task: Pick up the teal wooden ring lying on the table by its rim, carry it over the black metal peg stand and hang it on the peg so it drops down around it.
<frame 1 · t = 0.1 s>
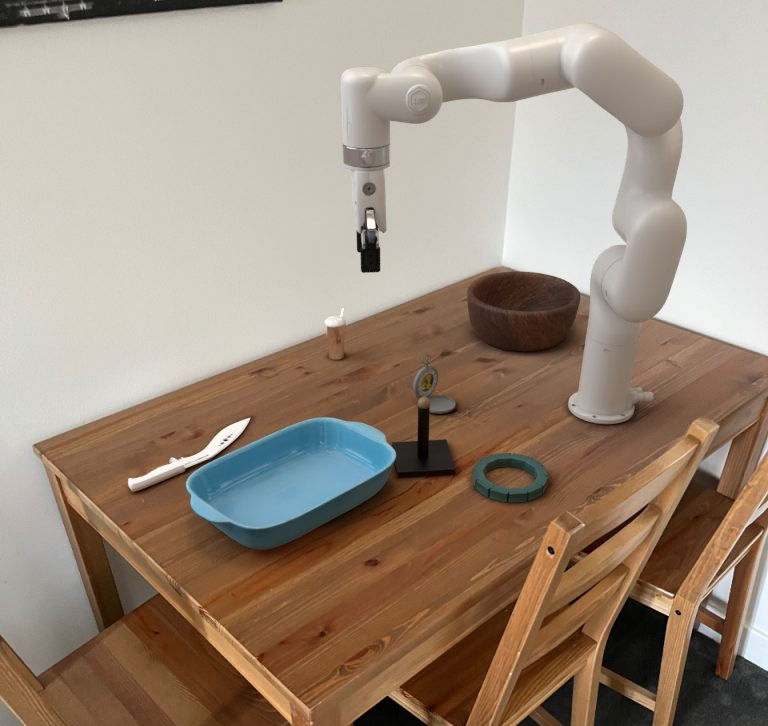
hand: (368, 261, 145), 31 cm above the table, tool pointing down, fingers open, 9 cm apart
milkshake: (337, 356, 186), on the table
casserole dish: (296, 502, 142), on the table
wooden bowl: (519, 334, 195), on the table
pocket watch: (434, 405, 168), on the table
ring: (509, 481, 146), on the table
stand: (422, 460, 152), on the table
knife: (196, 454, 154), on the table
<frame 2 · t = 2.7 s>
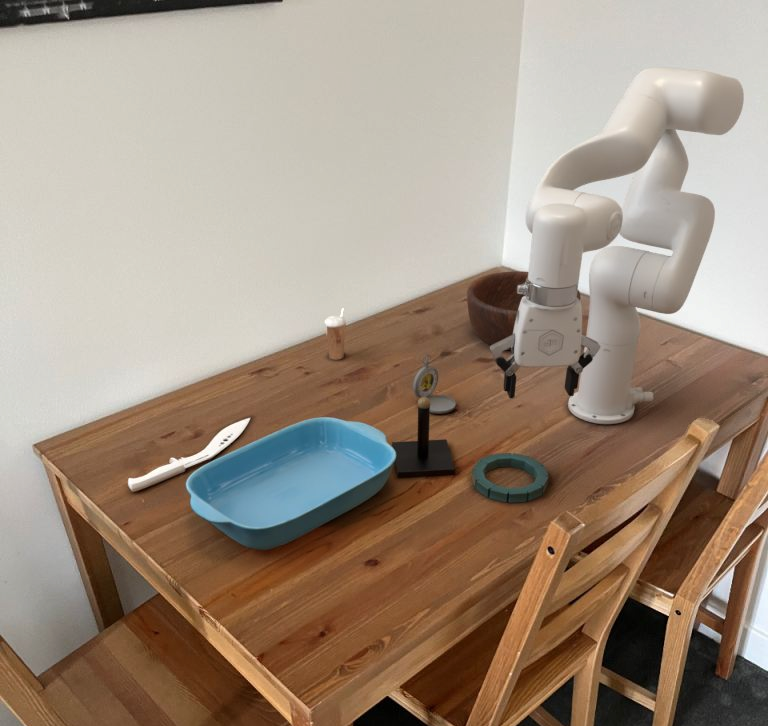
hand: (539, 393, 138), 16 cm above the table, tool pointing down, fingers open, 9 cm apart
nothing on the table moved.
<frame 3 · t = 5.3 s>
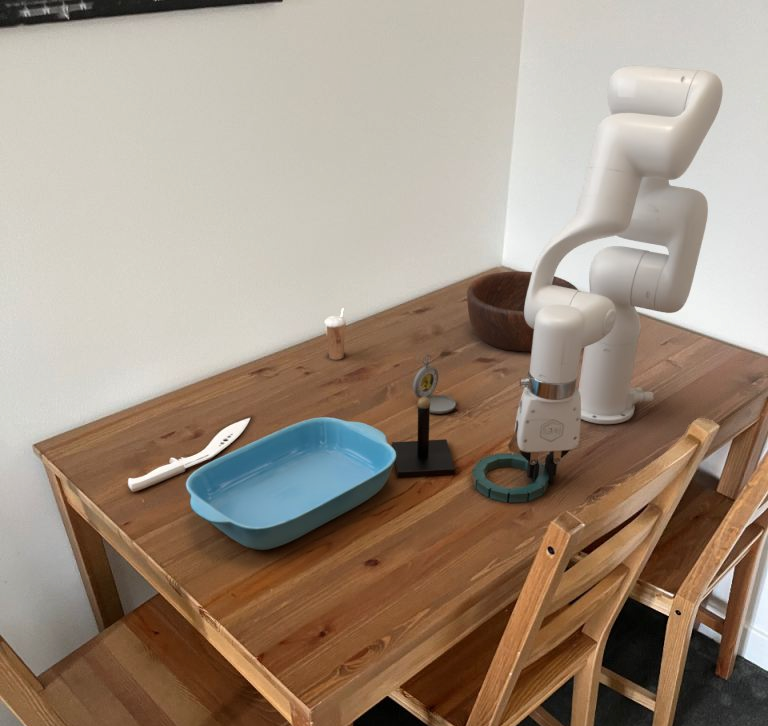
hand: (540, 478, 147), 0 cm above the table, tool pointing down, fingers closed on ring, 2 cm apart
ring: (509, 481, 146), on the table, touching gripper
everything else where it was.
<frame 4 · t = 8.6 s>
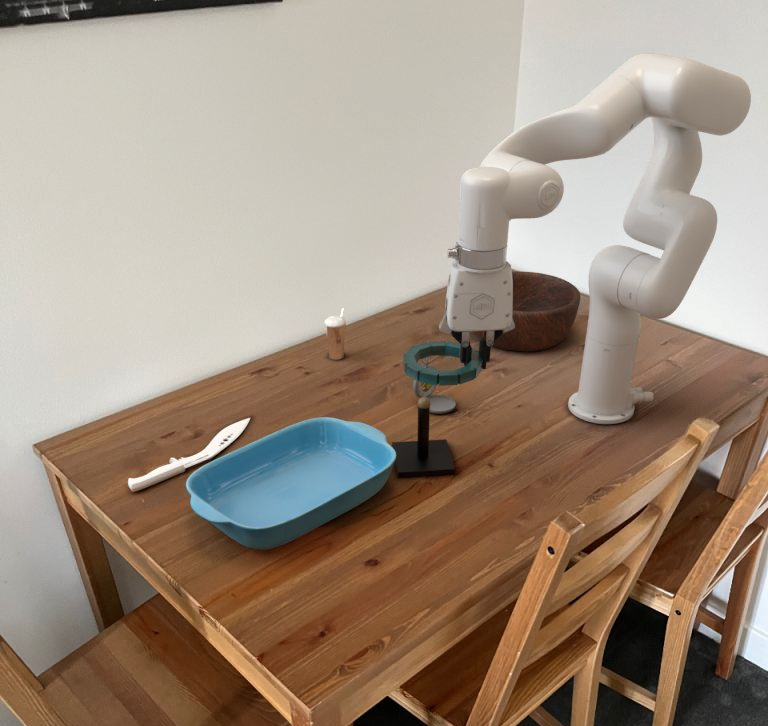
hand: (474, 365, 140), 19 cm above the table, tool pointing down, fingers closed on ring
ring: (442, 367, 139), point 19 cm above the table, touching gripper
everything else where it was.
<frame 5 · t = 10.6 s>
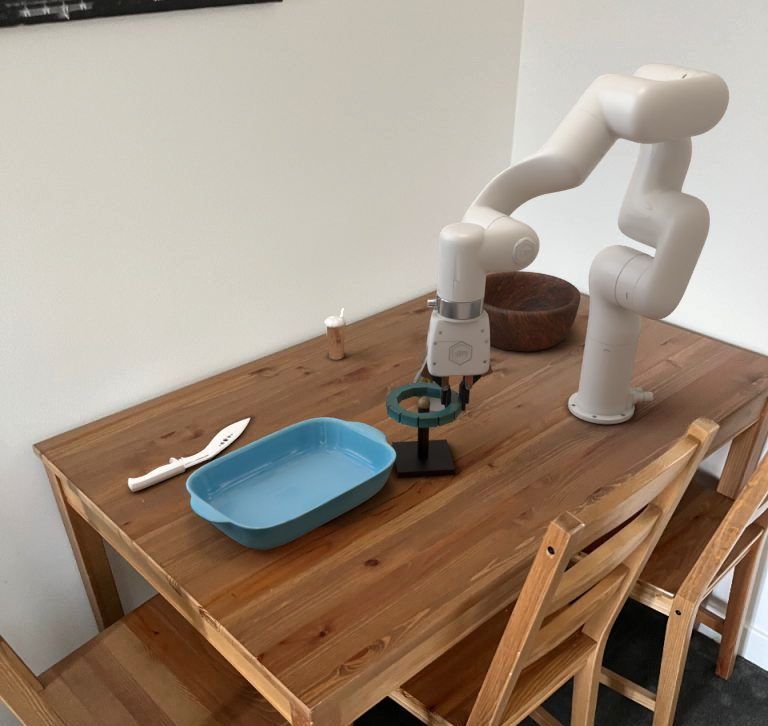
hand: (454, 406, 146), 11 cm above the table, tool pointing down, fingers closed on ring
ring: (423, 408, 145), point 11 cm above the table, touching gripper
everything else where it was.
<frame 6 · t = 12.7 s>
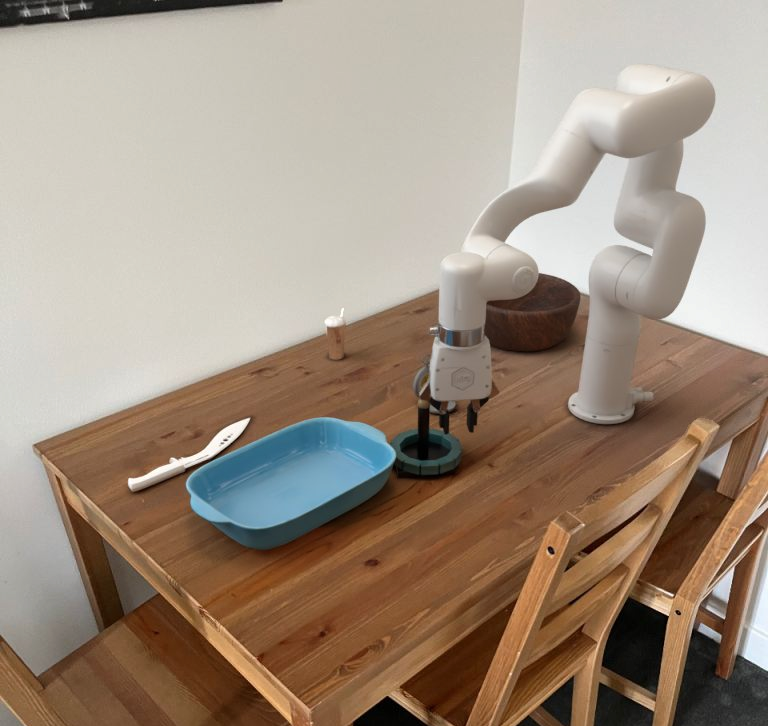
hand: (457, 428, 149), 6 cm above the table, tool pointing down, fingers open, 3 cm apart
ring: (425, 455, 151), point 1 cm above the table, touching stand
everything else where it was.
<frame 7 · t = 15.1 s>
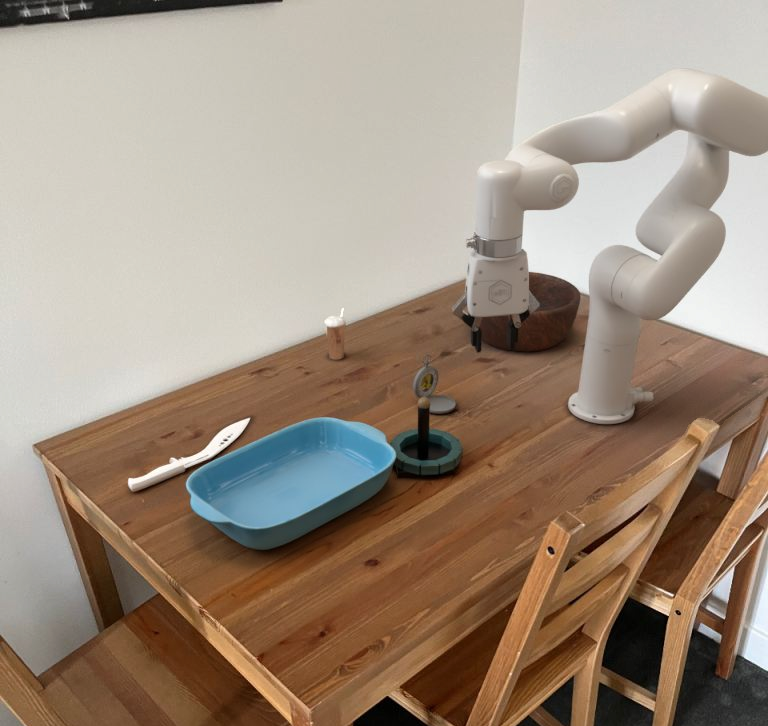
hand: (493, 346, 147), 18 cm above the table, tool pointing down, fingers open, 5 cm apart
nothing on the table moved.
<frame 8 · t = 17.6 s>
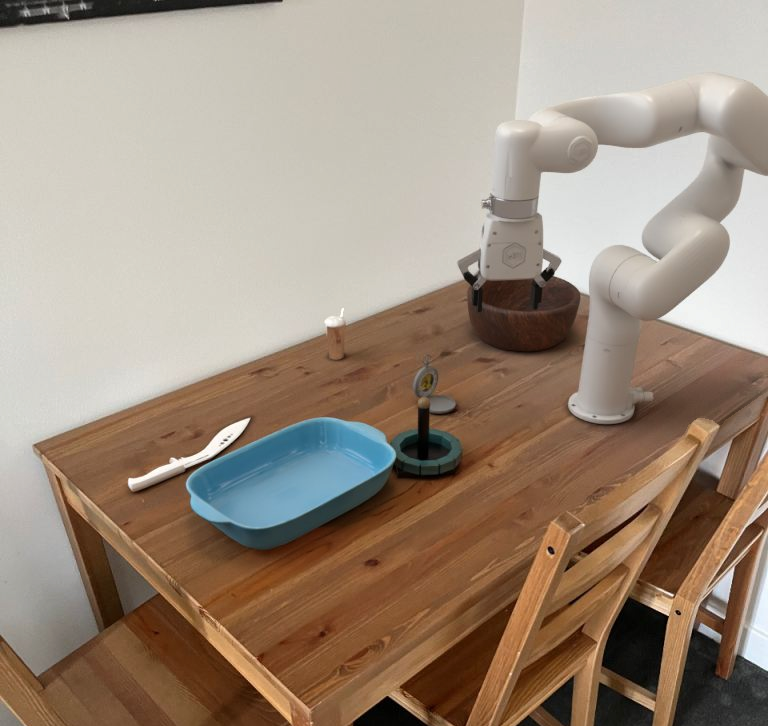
hand: (505, 308, 146), 24 cm above the table, tool pointing down, fingers open, 9 cm apart
nothing on the table moved.
at the end: ring 0.5 cm from the stand (horizontally); ring point 1.2 cm above the table; the gripper is holding nothing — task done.
